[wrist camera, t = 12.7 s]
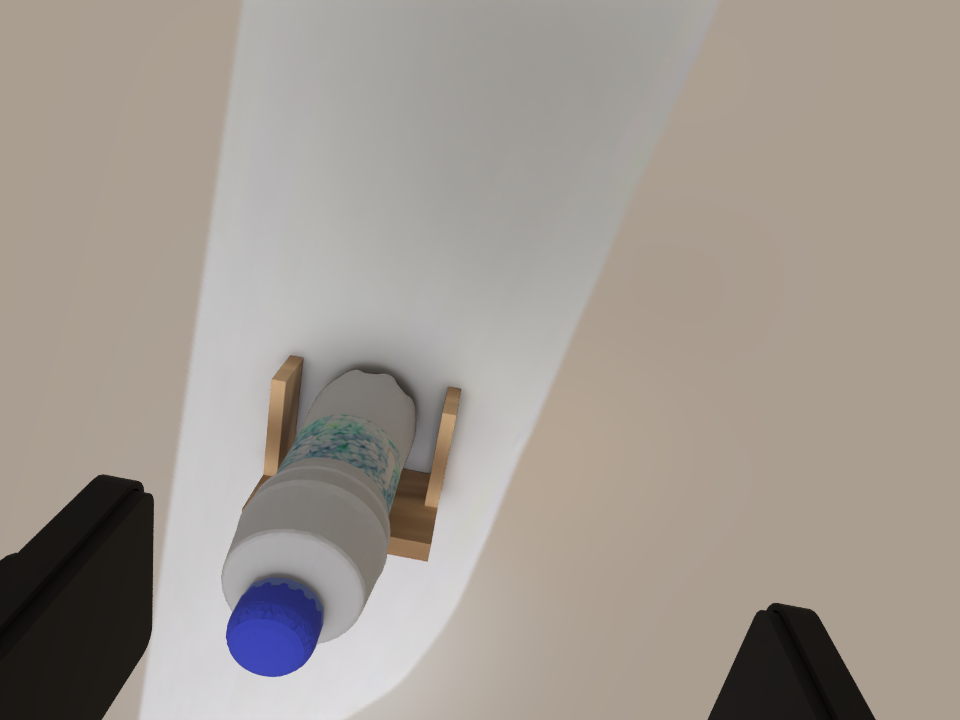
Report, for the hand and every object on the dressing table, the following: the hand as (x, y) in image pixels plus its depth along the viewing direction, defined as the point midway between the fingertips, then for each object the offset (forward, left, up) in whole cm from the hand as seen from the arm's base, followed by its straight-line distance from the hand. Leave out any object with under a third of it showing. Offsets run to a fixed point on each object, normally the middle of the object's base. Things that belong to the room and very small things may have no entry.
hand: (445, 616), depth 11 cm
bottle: (+13, -5, -31) cm, 34 cm away
